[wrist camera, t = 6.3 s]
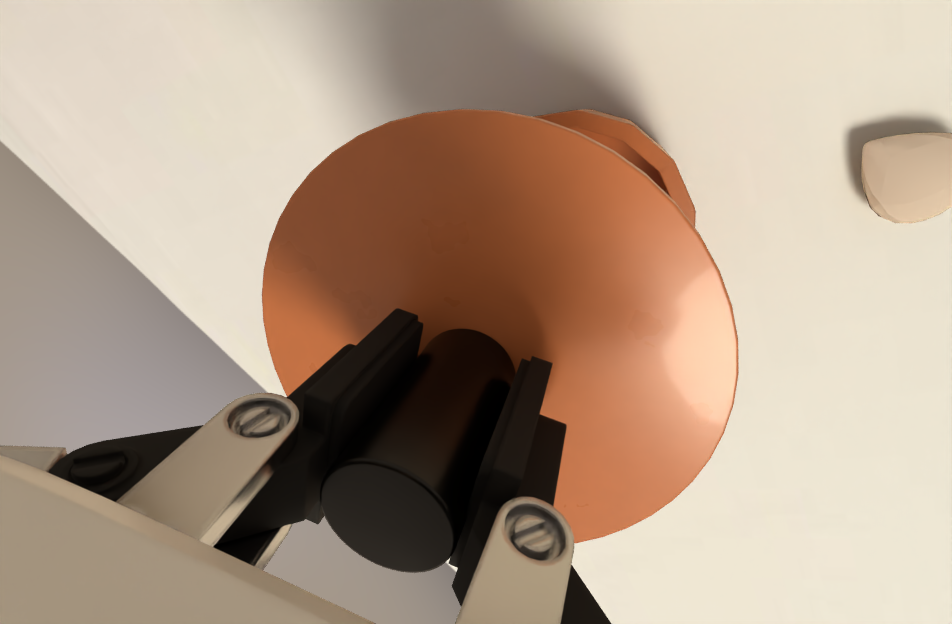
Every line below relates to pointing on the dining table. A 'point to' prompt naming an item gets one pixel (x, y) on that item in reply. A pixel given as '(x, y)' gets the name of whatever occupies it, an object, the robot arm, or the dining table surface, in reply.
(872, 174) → the macaroon
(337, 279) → the lid
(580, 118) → the orange hollow cylinder
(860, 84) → the dining table surface
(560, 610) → the robot arm
